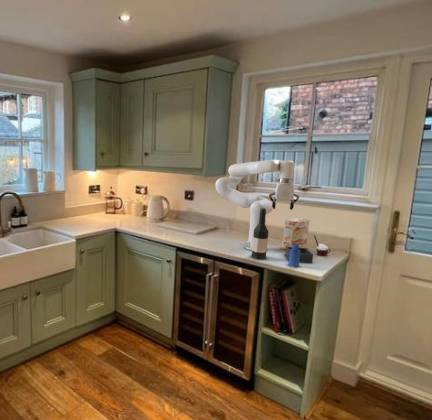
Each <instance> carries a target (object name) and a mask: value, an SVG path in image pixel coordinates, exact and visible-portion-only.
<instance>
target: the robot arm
mask: <svg viewBox="0 0 432 420" xmlns="http://www.w3.org/2000/svg"><path fill="white" fill-rule="evenodd" d="M294 169H295V162H294V160H284V159H283V160H281V159H267V160H258V161H247V162H240V163H234V164H231V165H230V166H229V167H228V169H227V172H228V175H229V176H223V177H222V176H221V177H220V178H218V179H217V180H216V181H215V190H216V193H217V194H218V195H219V196H220V197H221V198H223V199H225V200H227V201H229V202H230V203H232V204H234V205H237V206H239V207H240V208H242V209H243V208H244V209H247V208H249V228H248V229H249V230H248V231H249V232H248V239H247V240H246V241H243V240H241V241H240V245H243V246H244V248H245V249H247V250H249V251H252V246H253V235H254V229H255V228H256V226H257V225H258V224H259V217H260V209H261V208H265V210H266V215H267V214H270V213H271V212H272V211H273V210H276V204H277V203H276V201H290V204H289V210H290V211H293V209H294V206H295V204H296V203H297V202H298V200H299V199H300V195H298V194H296V193H295V184H294V183H293V180H294V179H293V178H294ZM278 172H279V173H278ZM265 173H278V178H276V179H275V181H276V182H277V183H276V185H275V189H274V192H272V193H269V194H268V198H269V199H268V198H265V197H264V196H261V195H259V194H257V193H255V192H246V193H245V192H242V191H239V190H237V189H235V188H236V187H237V186H238V185H239V183H240V182H241V181H242V180H243V179H244V178H245V177H246V176H247V177H248V176H255V175H258V174H265ZM273 197H274V198H273ZM266 218H267V217H265V225H266V226H267V219H266Z"/></svg>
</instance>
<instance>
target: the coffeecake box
mask: <svg viewBox="0 0 432 420" xmlns="http://www.w3.org/2000/svg"><path fill="white" fill-rule="evenodd" d="M310 221H311V220H310V219H308V218H302V217H298V218H296V217H295V218H288V219H287V218H286V219H284V228H283V237H282V246H281V249H283V250H286V247H293V244H297V245H299V248H307V243H308V235H309V228H310Z"/></svg>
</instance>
